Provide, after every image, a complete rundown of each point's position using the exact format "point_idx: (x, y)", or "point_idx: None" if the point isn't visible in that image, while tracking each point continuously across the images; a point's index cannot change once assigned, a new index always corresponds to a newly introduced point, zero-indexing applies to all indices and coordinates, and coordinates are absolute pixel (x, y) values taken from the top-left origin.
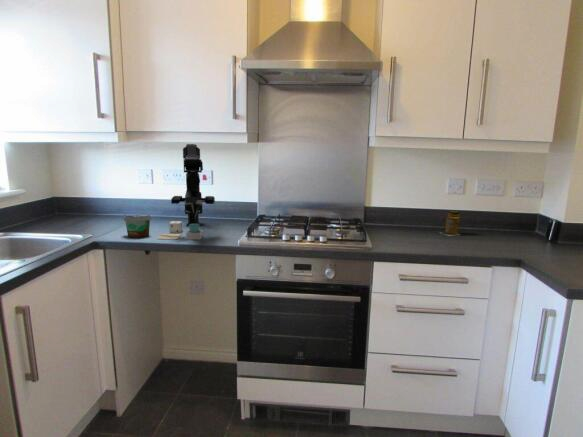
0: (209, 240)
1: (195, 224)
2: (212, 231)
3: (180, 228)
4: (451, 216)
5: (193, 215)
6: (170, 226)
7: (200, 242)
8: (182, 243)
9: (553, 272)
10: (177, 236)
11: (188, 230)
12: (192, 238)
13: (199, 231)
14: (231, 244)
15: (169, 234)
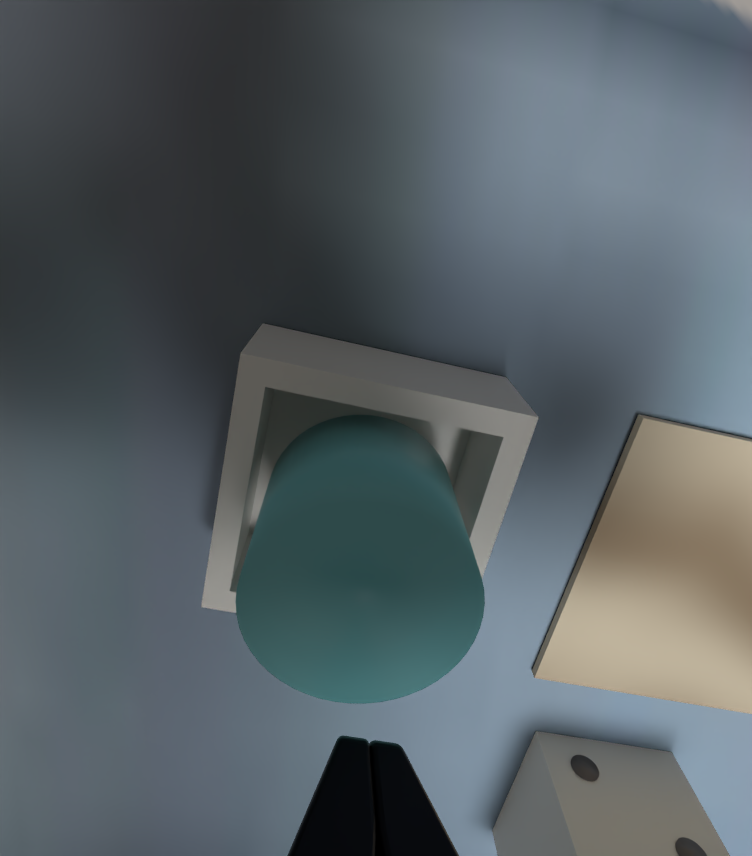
0: (96, 204)
1: (326, 618)
2: (74, 744)
3: (545, 812)
4: None
5: (384, 833)
6: (712, 850)
7: (273, 84)
8: (621, 98)
9: None
10: (619, 550)
11: None
12: (405, 358)
13: None
14: None
15: (704, 675)
